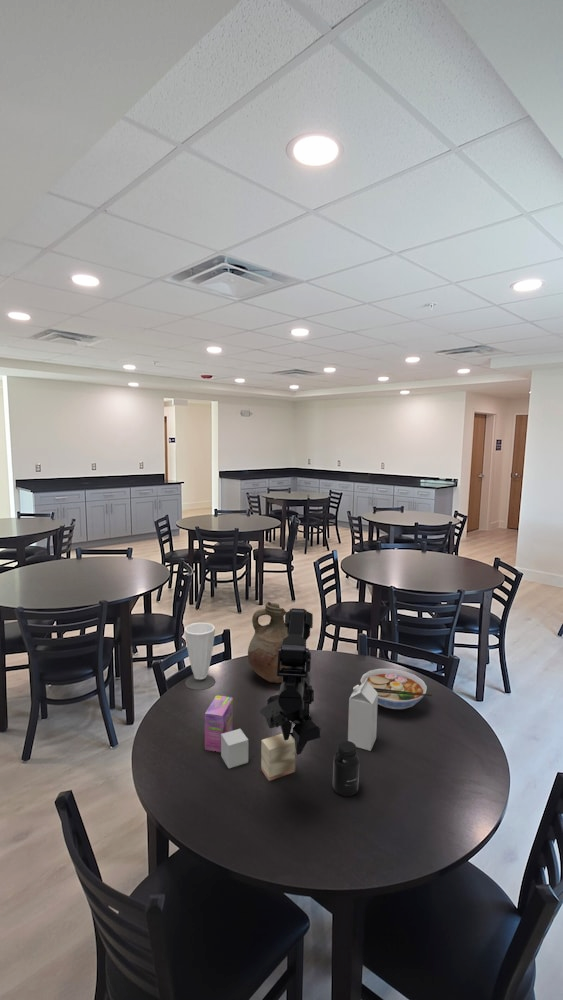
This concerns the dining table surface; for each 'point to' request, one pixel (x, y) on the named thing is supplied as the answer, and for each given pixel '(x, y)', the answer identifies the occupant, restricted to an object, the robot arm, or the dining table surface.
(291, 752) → the birch block
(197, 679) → the cup
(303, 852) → the dining table surface
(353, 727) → the milk carton
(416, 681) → the ramen bowl
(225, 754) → the grey block
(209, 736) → the box
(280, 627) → the jug
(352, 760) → the supplement bottle
